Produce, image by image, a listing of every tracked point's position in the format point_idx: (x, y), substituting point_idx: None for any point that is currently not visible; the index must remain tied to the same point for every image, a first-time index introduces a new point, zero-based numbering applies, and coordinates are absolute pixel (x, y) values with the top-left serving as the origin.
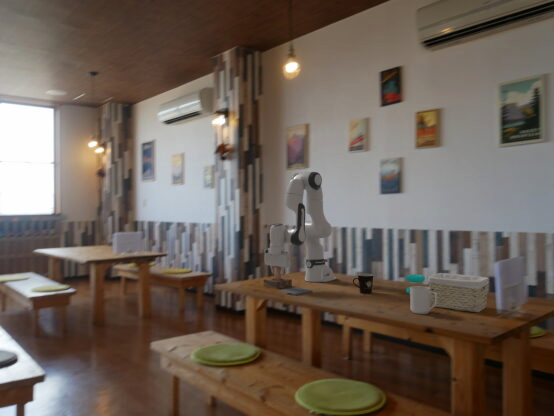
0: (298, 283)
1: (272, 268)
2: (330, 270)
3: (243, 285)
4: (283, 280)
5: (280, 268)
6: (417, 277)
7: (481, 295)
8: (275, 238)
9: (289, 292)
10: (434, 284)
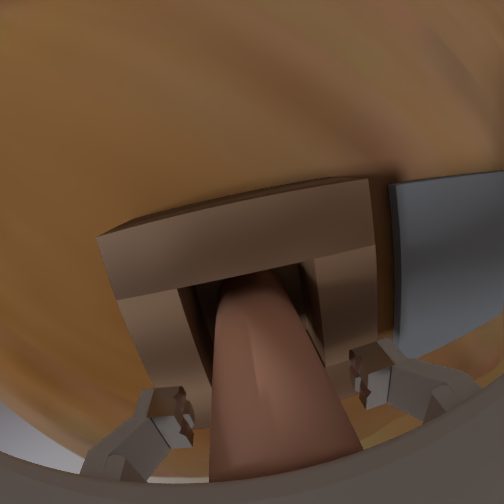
0: (160, 11)
1: (146, 460)
2: None
3: (51, 410)
4: (358, 304)
5: (349, 422)
6: None
7: None
8: None
9: (475, 324)
10: None
